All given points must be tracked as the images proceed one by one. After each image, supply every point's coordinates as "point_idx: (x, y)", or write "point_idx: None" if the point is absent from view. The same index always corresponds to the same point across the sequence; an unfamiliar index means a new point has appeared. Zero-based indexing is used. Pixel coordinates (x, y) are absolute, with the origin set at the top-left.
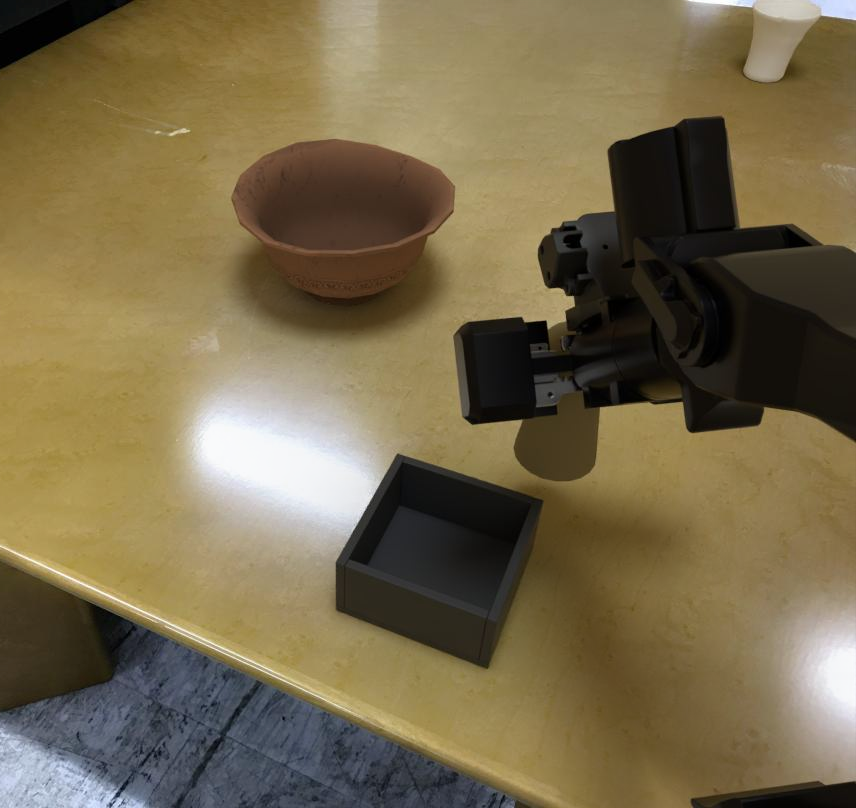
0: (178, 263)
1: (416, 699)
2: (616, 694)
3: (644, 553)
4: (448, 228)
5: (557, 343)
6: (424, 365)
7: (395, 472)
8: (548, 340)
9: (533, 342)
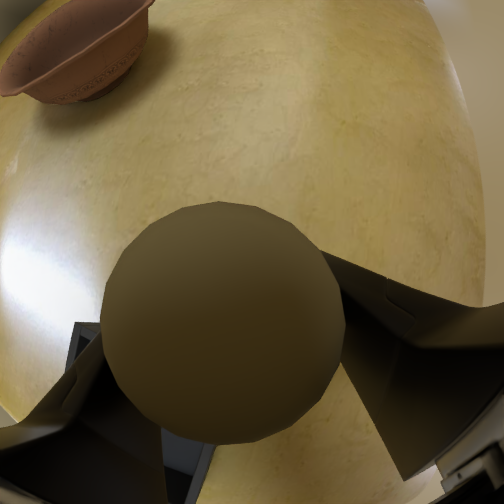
0: (18, 105)
1: None
2: (302, 487)
3: None
4: (188, 19)
5: (124, 368)
6: (145, 142)
7: (75, 350)
8: (41, 499)
9: (11, 489)
